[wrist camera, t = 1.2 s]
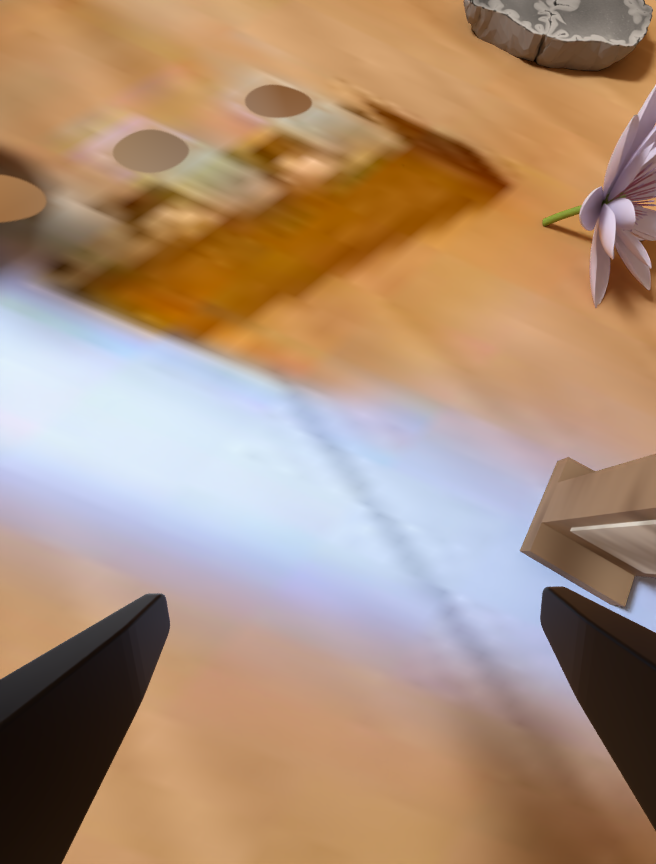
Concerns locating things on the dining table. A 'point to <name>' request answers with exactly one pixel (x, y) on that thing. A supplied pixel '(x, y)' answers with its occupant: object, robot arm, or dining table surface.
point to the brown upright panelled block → (598, 526)
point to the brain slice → (562, 29)
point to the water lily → (622, 204)
